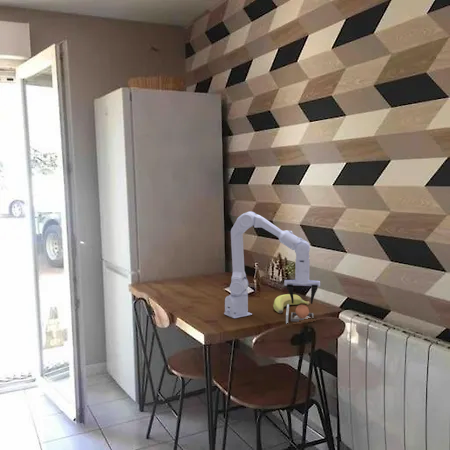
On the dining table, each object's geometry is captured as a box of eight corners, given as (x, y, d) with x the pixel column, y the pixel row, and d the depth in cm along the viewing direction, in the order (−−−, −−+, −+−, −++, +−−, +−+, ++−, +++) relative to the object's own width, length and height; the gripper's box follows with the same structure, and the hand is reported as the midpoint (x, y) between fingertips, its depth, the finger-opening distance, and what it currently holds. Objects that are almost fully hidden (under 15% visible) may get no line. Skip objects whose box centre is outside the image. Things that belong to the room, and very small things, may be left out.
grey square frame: (290, 321, 198) (290, 318, 198) (291, 314, 207) (291, 312, 207) (313, 321, 196) (313, 319, 196) (313, 315, 205) (313, 313, 205)
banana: (267, 291, 219) (305, 292, 226) (264, 302, 220) (302, 302, 228) (280, 306, 207) (320, 306, 214) (277, 317, 208) (317, 317, 216)
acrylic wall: (288, 323, 195) (288, 315, 194) (286, 323, 195) (285, 315, 194) (288, 312, 210) (289, 304, 210) (287, 312, 210) (287, 304, 210)
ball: (301, 320, 198) (301, 307, 197) (292, 317, 202) (292, 304, 202) (311, 318, 201) (311, 305, 200) (302, 315, 205) (302, 302, 205)
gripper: (284, 271, 197) (284, 304, 198) (320, 272, 194) (320, 306, 196) (284, 268, 204) (284, 300, 205) (320, 269, 201) (319, 301, 203)
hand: (302, 302), depth 201 cm, fingers open, 7 cm apart
